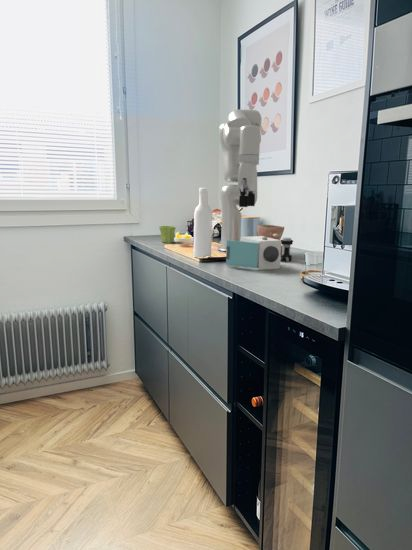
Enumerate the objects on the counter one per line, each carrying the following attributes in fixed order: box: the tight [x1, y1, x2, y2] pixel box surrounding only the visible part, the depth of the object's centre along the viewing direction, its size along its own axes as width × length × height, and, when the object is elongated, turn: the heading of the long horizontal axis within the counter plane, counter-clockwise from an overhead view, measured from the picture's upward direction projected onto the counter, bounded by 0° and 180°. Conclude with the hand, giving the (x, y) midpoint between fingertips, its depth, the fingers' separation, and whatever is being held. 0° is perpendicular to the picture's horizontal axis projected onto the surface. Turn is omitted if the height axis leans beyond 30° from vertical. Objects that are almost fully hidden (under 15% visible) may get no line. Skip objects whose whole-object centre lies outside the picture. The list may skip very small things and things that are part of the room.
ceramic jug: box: [256, 224, 285, 255], centre depth 185 cm, size 18×14×14 cm
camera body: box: [240, 235, 282, 271], centre depth 163 cm, size 16×10×12 cm, turn 26°
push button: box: [280, 237, 294, 263], centre depth 175 cm, size 7×5×10 cm
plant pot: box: [158, 225, 177, 244], centre depth 225 cm, size 9×9×9 cm
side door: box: [225, 240, 260, 269], centre depth 158 cm, size 14×1×10 cm, turn 61°
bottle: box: [192, 187, 213, 257], centre depth 179 cm, size 8×8×30 cm
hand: (247, 206), depth 158 cm, fingers open, 9 cm apart
